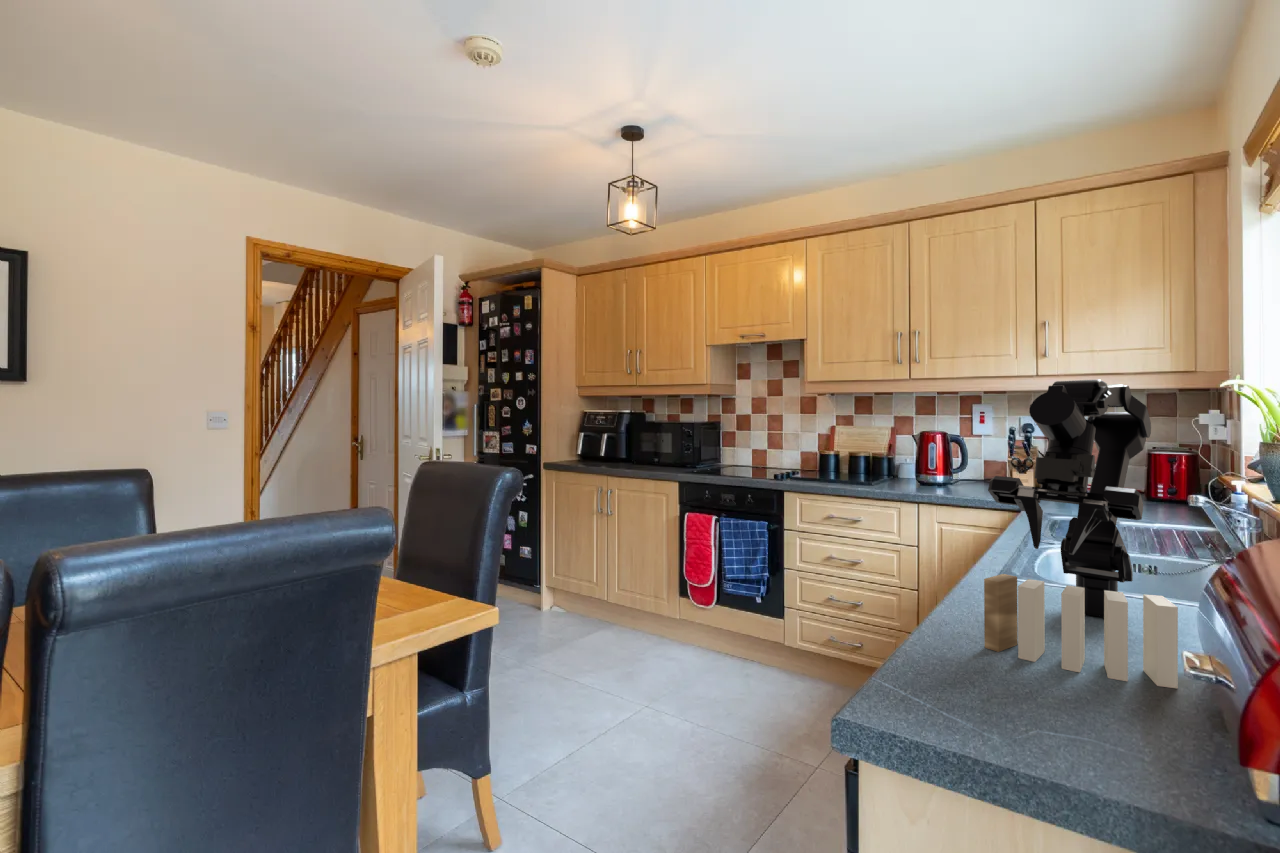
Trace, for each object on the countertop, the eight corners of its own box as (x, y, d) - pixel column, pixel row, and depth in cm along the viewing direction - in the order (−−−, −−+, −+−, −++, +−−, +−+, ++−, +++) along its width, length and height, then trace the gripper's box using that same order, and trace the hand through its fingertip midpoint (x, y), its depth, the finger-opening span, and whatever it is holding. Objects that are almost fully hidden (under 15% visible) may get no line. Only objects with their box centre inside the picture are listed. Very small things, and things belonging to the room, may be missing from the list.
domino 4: (1107, 678, 79) (1107, 600, 79) (1104, 664, 83) (1104, 590, 83) (1127, 681, 78) (1127, 602, 78) (1122, 667, 82) (1123, 592, 82)
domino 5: (1157, 685, 76) (1157, 605, 76) (1143, 670, 81) (1143, 594, 81) (1177, 688, 76) (1177, 607, 75) (1162, 672, 80) (1162, 595, 80)
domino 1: (984, 647, 90) (984, 578, 89) (1003, 640, 92) (1003, 573, 92) (998, 652, 88) (998, 581, 88) (1017, 644, 90) (1017, 576, 90)
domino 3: (1061, 668, 82) (1061, 593, 82) (1067, 657, 86) (1066, 585, 86) (1080, 672, 81) (1079, 596, 80) (1084, 660, 84) (1084, 587, 84)
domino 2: (1018, 658, 86) (1018, 586, 85) (1028, 648, 89) (1028, 579, 89) (1035, 662, 84) (1034, 588, 84) (1044, 651, 88) (1044, 581, 88)
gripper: (988, 428, 97) (969, 522, 92) (1141, 435, 83) (1127, 546, 79) (1005, 457, 104) (988, 545, 100) (1148, 467, 91) (1136, 570, 86)
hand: (1053, 551), depth 91 cm, fingers open, 4 cm apart
